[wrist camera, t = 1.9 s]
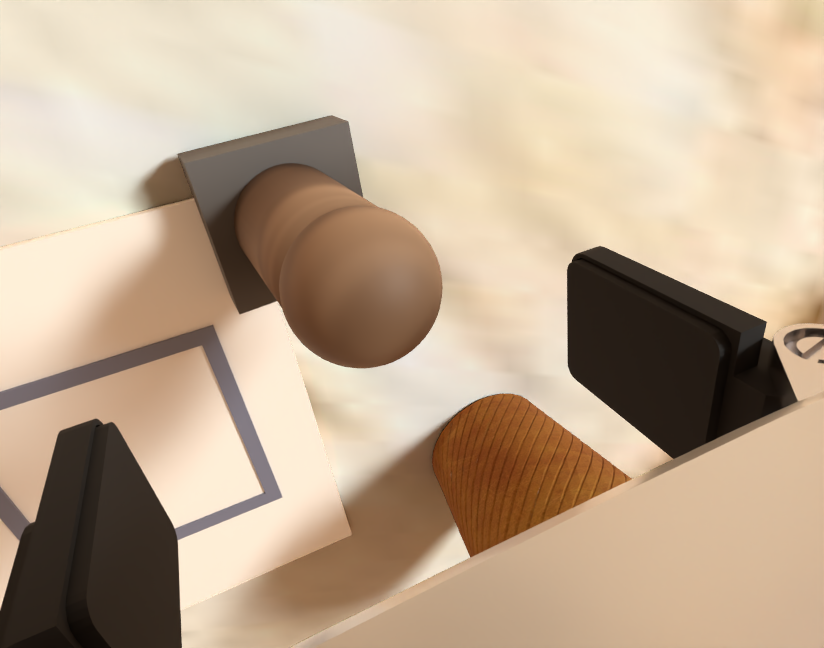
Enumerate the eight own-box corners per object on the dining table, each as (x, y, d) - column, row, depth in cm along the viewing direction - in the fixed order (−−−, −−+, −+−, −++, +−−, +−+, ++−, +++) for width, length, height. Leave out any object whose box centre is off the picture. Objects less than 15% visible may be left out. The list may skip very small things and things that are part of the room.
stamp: (177, 153, 16) (243, 250, 9) (331, 115, 18) (488, 172, 11) (230, 297, 19) (313, 457, 12) (360, 252, 21) (501, 369, 13)
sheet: (-289, 320, 14) (-300, 327, 14) (240, 186, 18) (242, 188, 17) (51, 661, 24) (49, 670, 24) (350, 530, 27) (352, 536, 27)
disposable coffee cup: (405, 534, 29) (529, 787, 20) (397, 393, 25) (555, 638, 15) (553, 480, 32) (723, 676, 23) (572, 345, 28) (797, 522, 18)
